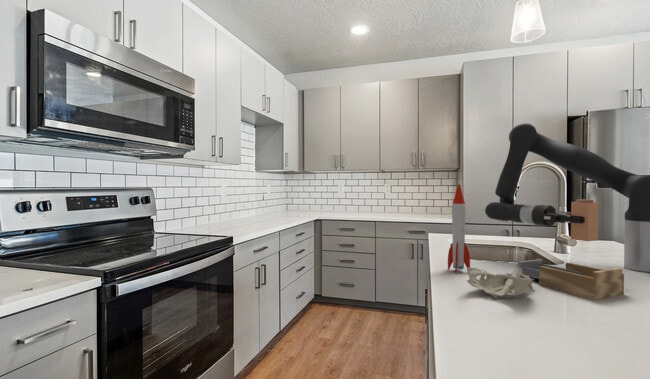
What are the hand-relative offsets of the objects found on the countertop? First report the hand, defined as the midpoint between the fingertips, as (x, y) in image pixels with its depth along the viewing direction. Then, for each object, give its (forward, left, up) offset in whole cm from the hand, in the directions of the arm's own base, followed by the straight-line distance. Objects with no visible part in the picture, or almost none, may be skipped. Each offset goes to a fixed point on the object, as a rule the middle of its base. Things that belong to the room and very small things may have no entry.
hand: (589, 219), depth 106 cm
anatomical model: (+38, +1, -19) cm, 43 cm away
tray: (+15, -3, -17) cm, 23 cm away
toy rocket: (+32, -22, -19) cm, 43 cm away
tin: (0, -1, -6) cm, 7 cm away
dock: (+15, +6, -19) cm, 24 cm away
